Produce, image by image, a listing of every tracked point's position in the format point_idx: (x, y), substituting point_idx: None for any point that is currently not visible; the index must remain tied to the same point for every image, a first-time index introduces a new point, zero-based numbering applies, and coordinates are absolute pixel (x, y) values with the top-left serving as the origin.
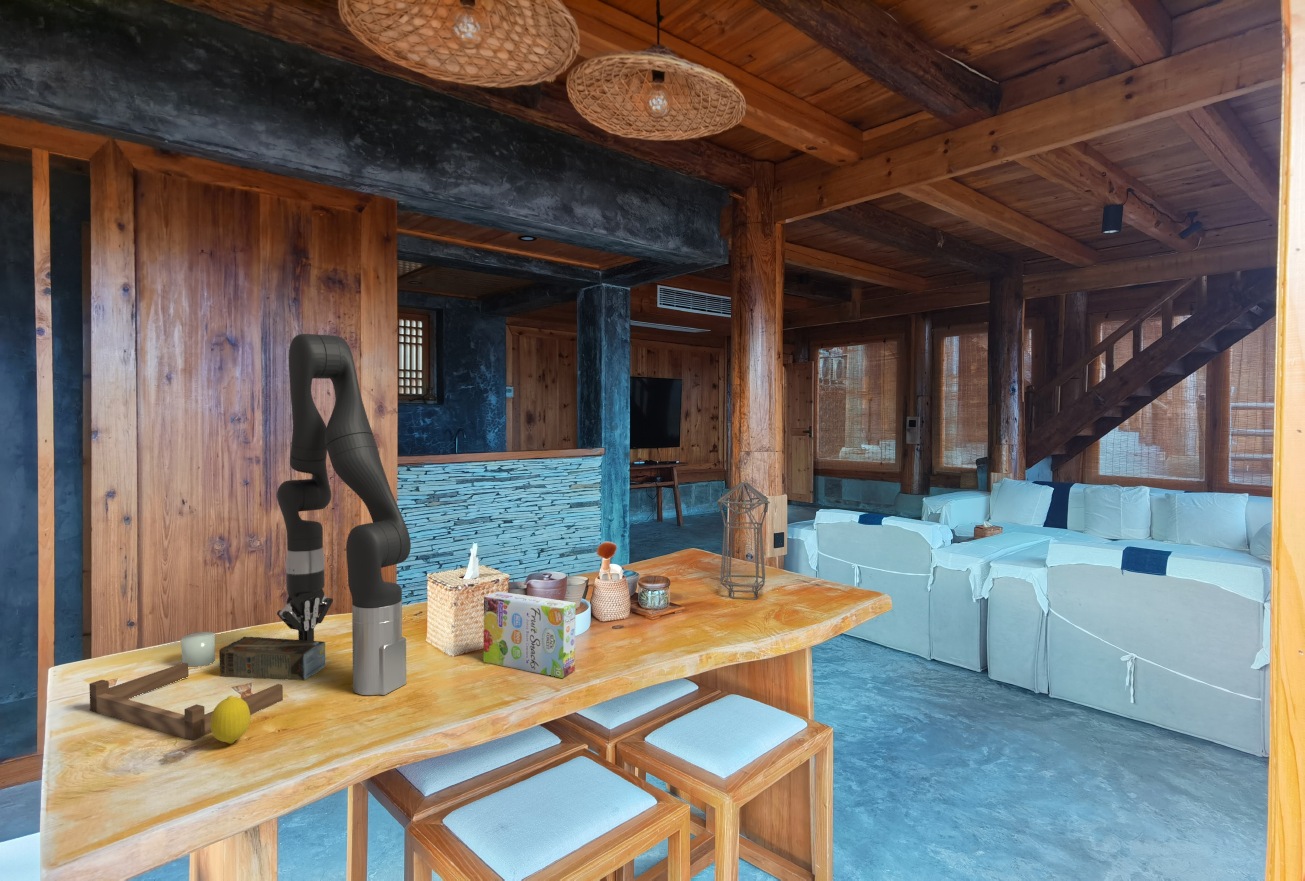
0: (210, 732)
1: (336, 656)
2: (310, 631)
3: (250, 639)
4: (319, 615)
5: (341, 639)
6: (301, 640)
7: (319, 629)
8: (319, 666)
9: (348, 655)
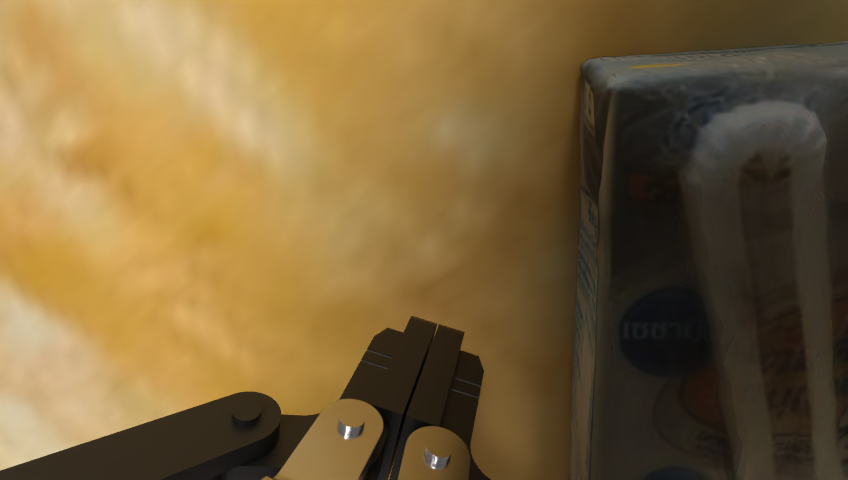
0: None
1: (366, 118)
2: (402, 397)
3: None
4: (202, 476)
5: (120, 272)
6: (624, 365)
7: None
8: (684, 54)
9: (324, 35)
